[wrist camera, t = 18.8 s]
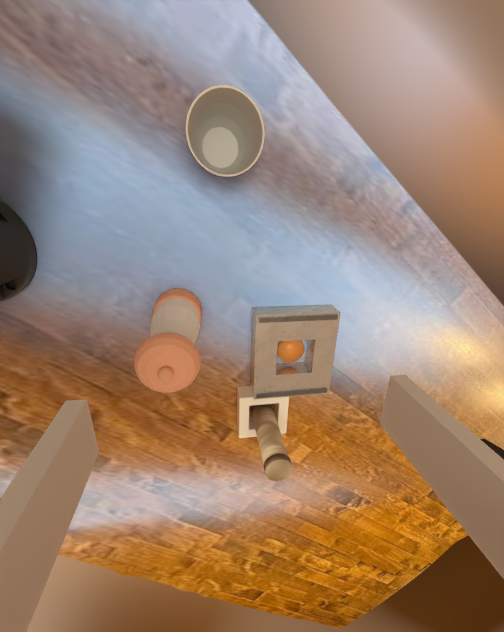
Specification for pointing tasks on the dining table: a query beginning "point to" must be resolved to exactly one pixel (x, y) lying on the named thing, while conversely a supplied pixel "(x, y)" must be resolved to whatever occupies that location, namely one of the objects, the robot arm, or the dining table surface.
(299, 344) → the button
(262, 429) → the brown wooden cylinder
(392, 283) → the dining table surface
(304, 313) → the grey square frame
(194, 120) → the cup
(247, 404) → the holder
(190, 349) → the salt shaker
